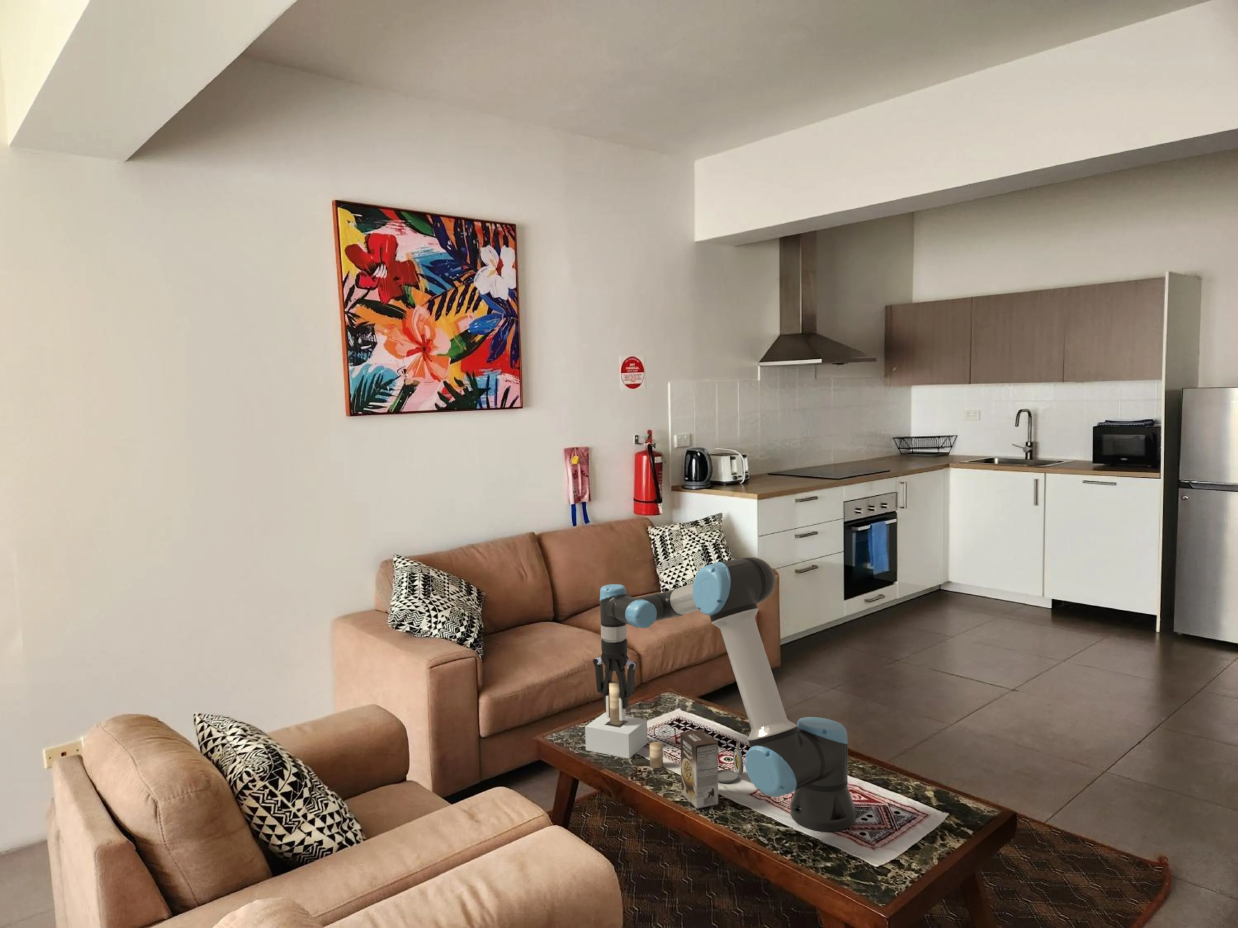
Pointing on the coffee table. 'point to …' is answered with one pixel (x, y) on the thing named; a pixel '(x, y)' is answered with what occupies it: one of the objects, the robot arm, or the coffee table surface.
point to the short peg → (656, 755)
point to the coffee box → (699, 768)
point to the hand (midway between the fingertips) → (616, 717)
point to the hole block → (616, 736)
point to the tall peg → (614, 704)
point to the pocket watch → (731, 775)
